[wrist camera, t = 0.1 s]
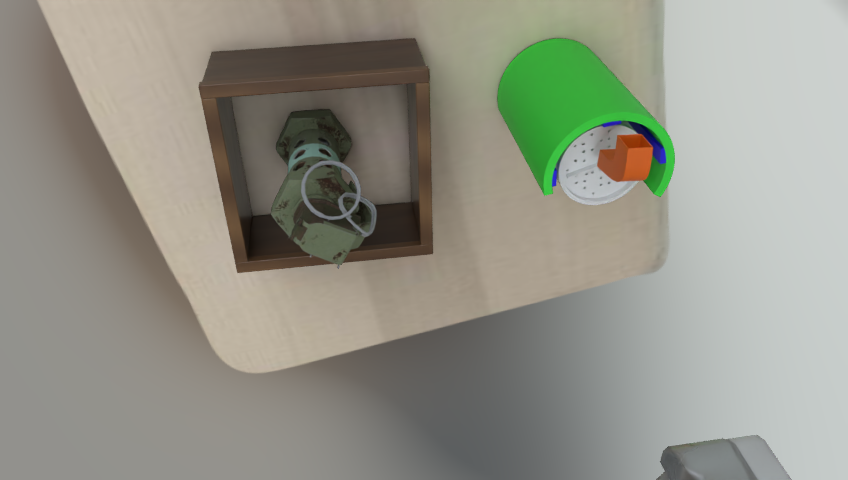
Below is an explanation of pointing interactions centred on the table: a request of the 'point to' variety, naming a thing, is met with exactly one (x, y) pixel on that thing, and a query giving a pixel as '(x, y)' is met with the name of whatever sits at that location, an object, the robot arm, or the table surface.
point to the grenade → (320, 188)
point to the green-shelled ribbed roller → (581, 125)
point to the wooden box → (308, 71)
